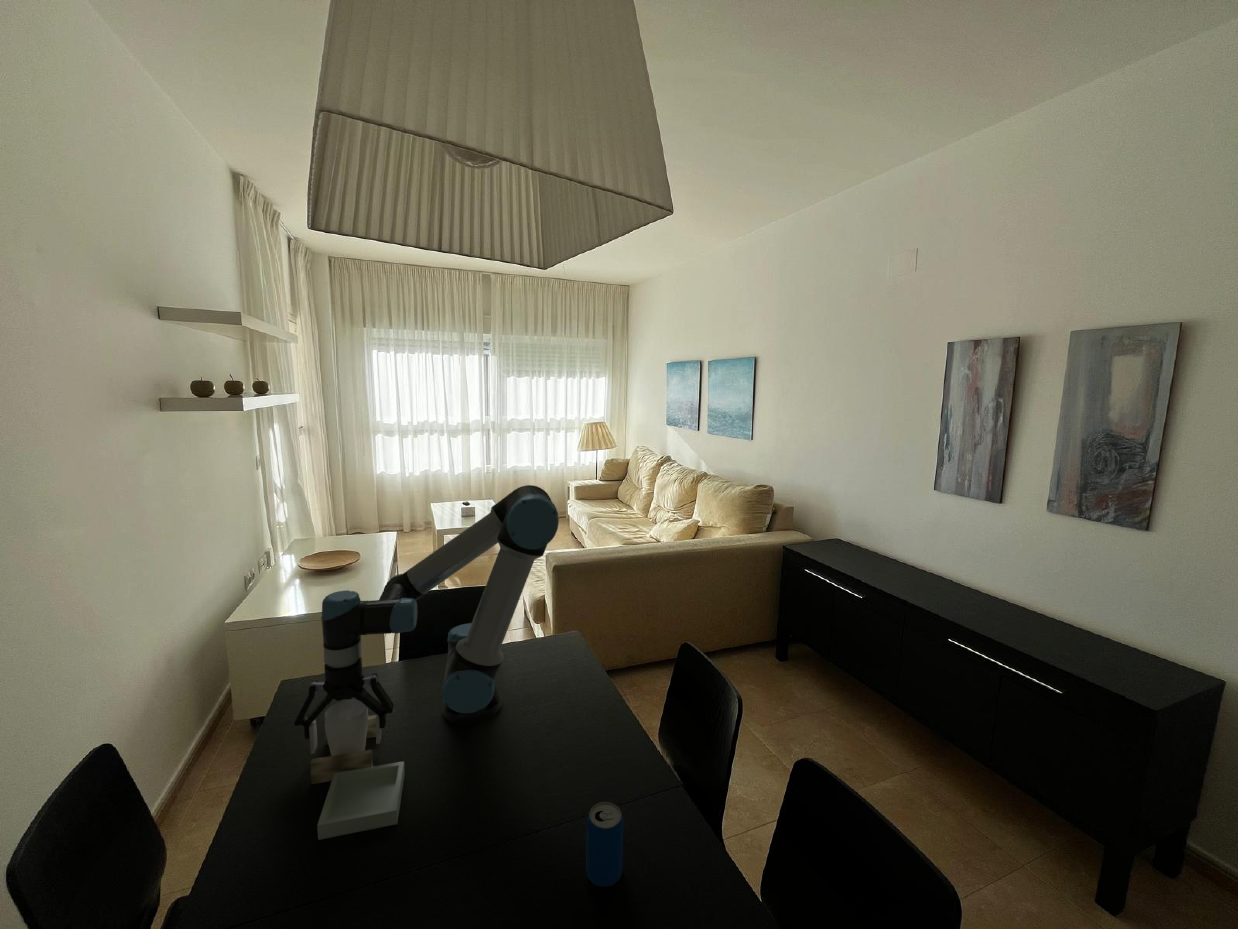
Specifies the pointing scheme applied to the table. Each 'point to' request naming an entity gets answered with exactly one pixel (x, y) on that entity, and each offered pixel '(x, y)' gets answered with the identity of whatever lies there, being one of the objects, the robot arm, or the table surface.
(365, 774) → the tray
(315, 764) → the rest
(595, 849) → the beverage can
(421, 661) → the table surface
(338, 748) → the cup
